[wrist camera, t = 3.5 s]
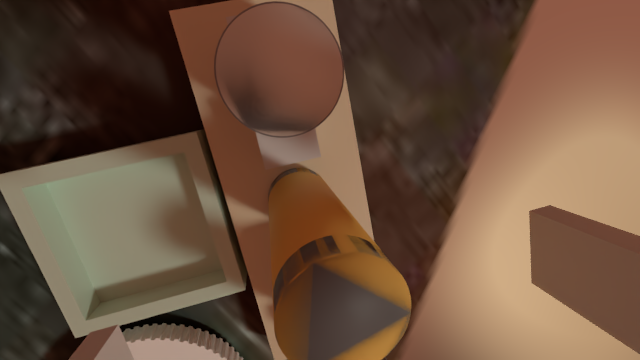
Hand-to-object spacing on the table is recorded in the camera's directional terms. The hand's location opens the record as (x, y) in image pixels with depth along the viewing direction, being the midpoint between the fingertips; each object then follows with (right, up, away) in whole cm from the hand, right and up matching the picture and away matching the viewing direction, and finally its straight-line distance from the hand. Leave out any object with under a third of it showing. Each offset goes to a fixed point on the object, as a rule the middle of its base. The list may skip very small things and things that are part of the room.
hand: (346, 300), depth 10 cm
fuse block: (-3, +3, +13) cm, 14 cm away
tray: (-13, +1, +12) cm, 17 cm away
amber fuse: (-2, +3, +11) cm, 11 cm away
